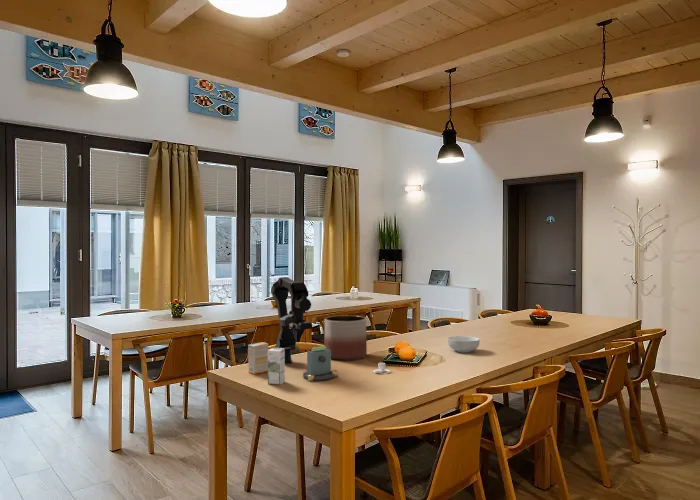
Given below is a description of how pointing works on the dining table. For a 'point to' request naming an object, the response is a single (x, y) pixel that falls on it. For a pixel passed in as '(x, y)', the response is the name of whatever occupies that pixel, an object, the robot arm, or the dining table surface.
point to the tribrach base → (320, 376)
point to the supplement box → (258, 357)
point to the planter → (346, 337)
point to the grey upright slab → (319, 361)
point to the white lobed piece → (381, 369)
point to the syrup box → (276, 366)
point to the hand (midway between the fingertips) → (297, 342)
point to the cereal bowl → (463, 343)
